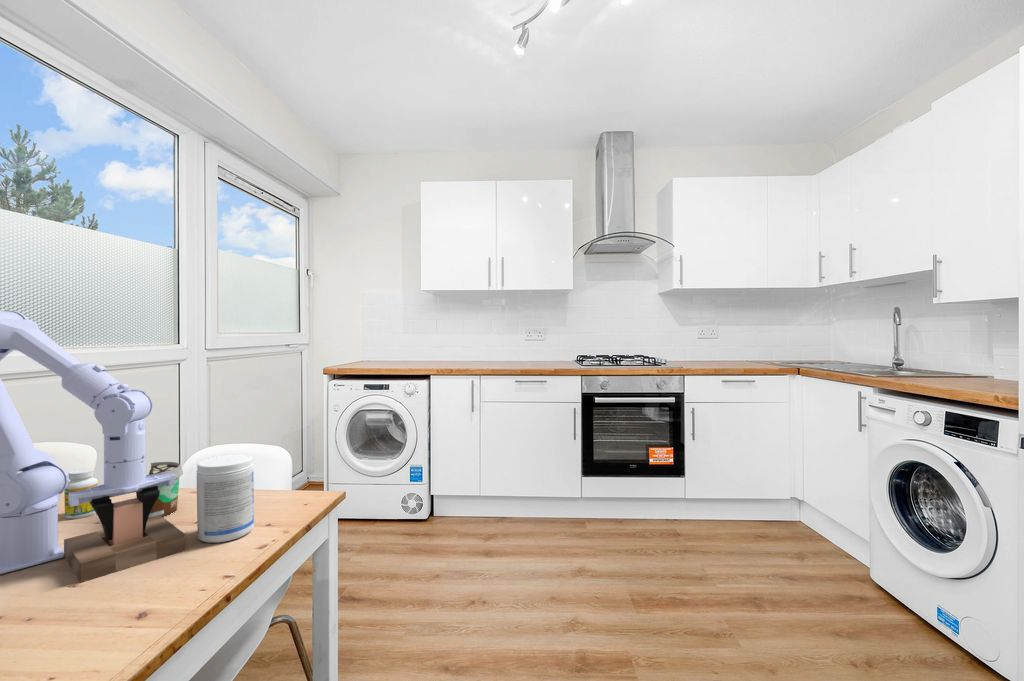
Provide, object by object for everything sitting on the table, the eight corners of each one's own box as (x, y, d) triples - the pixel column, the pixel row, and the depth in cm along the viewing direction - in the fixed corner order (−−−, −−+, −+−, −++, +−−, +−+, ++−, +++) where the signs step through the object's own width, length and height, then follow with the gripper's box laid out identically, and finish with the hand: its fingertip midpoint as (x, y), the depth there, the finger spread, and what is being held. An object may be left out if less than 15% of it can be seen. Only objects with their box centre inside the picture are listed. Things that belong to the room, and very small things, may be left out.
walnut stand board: (63, 556, 81) (63, 539, 81) (160, 530, 92) (160, 515, 92) (80, 582, 73) (80, 563, 73) (184, 550, 84) (184, 533, 84)
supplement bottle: (104, 510, 102) (104, 467, 102) (78, 520, 97) (78, 475, 97) (84, 509, 103) (84, 466, 103) (57, 518, 98) (57, 473, 98)
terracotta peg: (108, 548, 82) (108, 504, 82) (136, 540, 85) (136, 497, 85) (114, 555, 80) (113, 509, 80) (142, 546, 83) (142, 502, 83)
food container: (182, 517, 99) (182, 471, 99) (146, 523, 95) (145, 476, 95) (184, 500, 109) (184, 458, 109) (151, 505, 106) (151, 462, 105)
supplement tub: (264, 528, 93) (264, 456, 93) (219, 548, 84) (219, 469, 84) (231, 521, 97) (231, 451, 97) (185, 539, 88) (185, 463, 88)
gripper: (74, 472, 74) (74, 556, 74) (180, 454, 86) (180, 526, 86) (65, 464, 78) (66, 543, 79) (168, 448, 90) (168, 517, 90)
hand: (125, 534), depth 82 cm, fingers closed on terracotta peg, 4 cm apart
